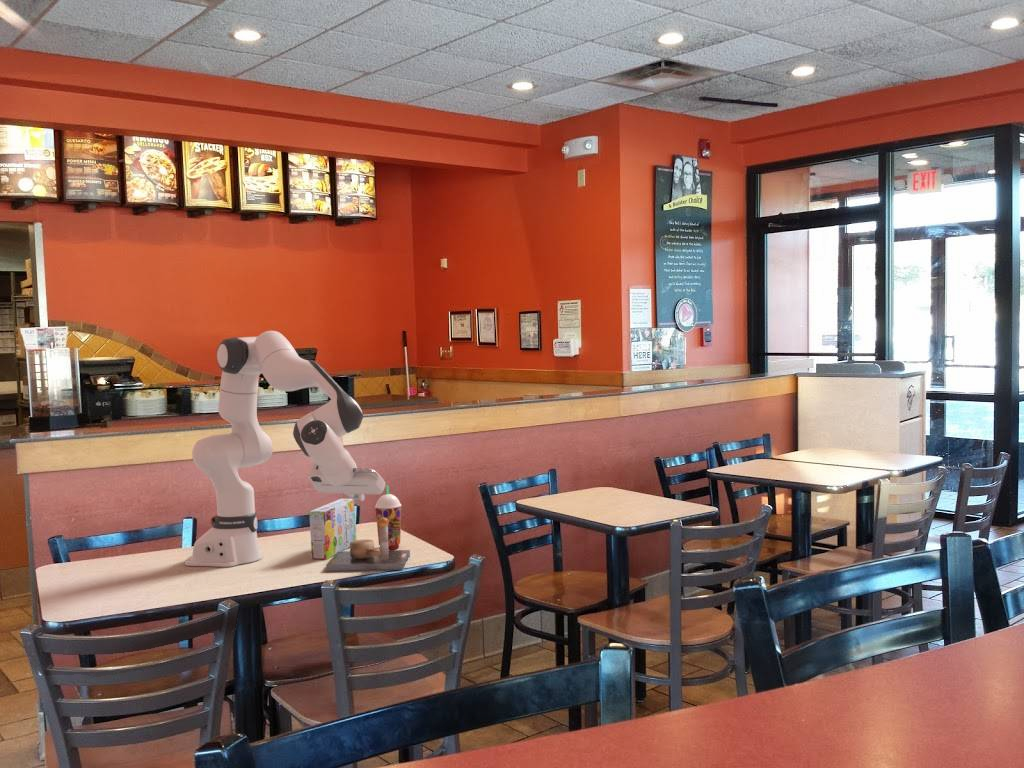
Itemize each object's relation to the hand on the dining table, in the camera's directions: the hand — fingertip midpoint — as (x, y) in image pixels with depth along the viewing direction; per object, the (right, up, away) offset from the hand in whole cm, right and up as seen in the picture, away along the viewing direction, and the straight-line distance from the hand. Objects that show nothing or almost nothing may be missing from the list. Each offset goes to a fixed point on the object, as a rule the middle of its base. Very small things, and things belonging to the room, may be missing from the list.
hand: (359, 499), depth 248 cm
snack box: (-14, -21, +36) cm, 45 cm away
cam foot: (+1, -19, +16) cm, 25 cm away
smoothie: (+3, -21, +39) cm, 44 cm away
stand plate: (0, -22, +19) cm, 29 cm away
